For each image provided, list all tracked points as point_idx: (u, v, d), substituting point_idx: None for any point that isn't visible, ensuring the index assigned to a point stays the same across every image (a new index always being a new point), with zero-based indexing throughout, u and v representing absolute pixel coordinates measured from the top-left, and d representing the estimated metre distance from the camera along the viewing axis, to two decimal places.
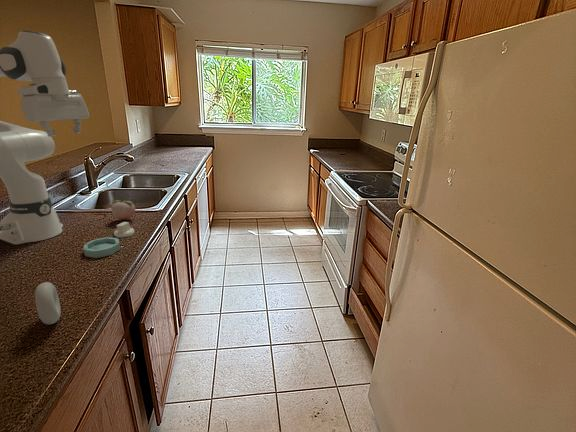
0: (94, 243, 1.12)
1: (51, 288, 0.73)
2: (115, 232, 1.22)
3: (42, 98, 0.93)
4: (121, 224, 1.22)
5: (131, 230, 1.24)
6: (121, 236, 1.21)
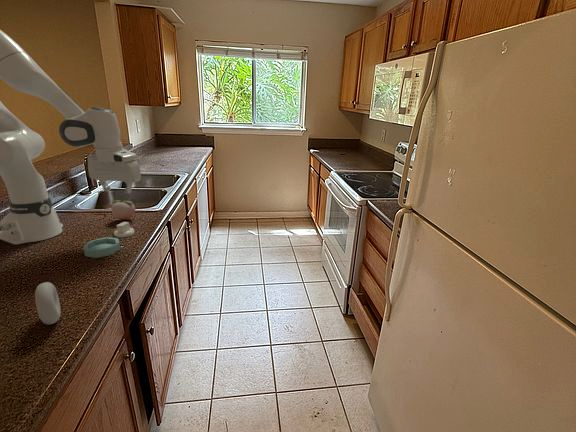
0: (94, 243, 1.12)
1: (51, 288, 0.73)
2: (115, 232, 1.22)
3: None
4: (121, 224, 1.22)
5: (131, 230, 1.24)
6: (121, 236, 1.21)
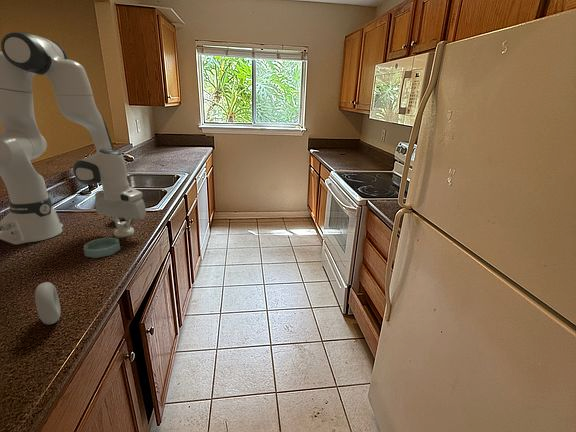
0: (94, 243, 1.12)
1: (51, 288, 0.73)
2: (115, 232, 1.22)
3: None
4: (121, 224, 1.22)
5: (131, 230, 1.24)
6: (121, 236, 1.20)
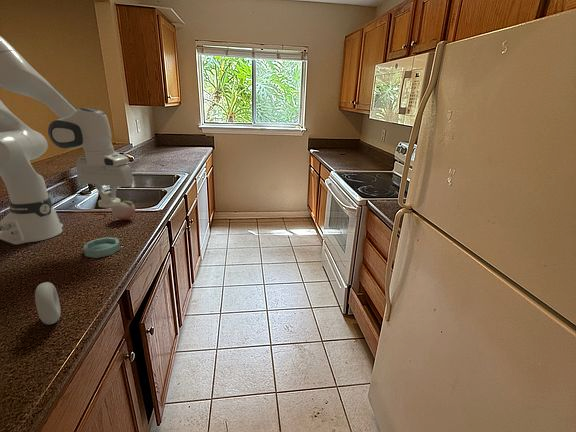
0: (94, 243, 1.12)
1: (51, 288, 0.73)
2: (99, 201, 1.11)
3: None
4: (106, 193, 1.11)
5: (117, 200, 1.14)
6: (106, 205, 1.10)
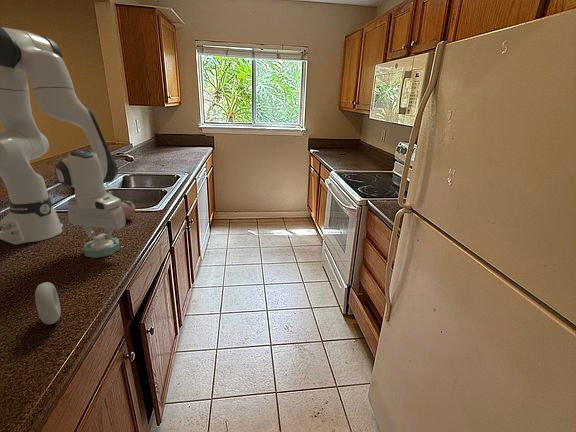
0: None
1: (51, 288, 0.73)
2: (92, 245, 1.08)
3: None
4: (98, 236, 1.08)
5: (110, 243, 1.10)
6: None
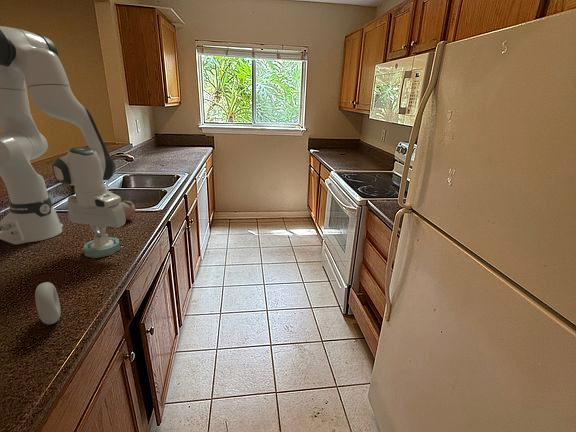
0: None
1: (51, 288, 0.73)
2: (92, 245, 1.08)
3: None
4: (98, 236, 1.08)
5: (110, 243, 1.10)
6: None
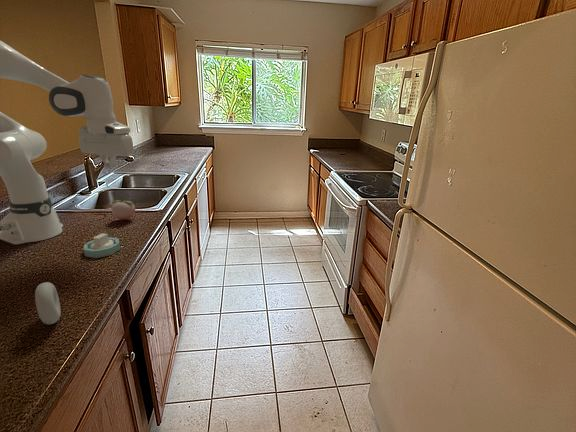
0: None
1: (51, 288, 0.73)
2: (92, 245, 1.08)
3: None
4: (98, 236, 1.08)
5: (110, 243, 1.10)
6: None
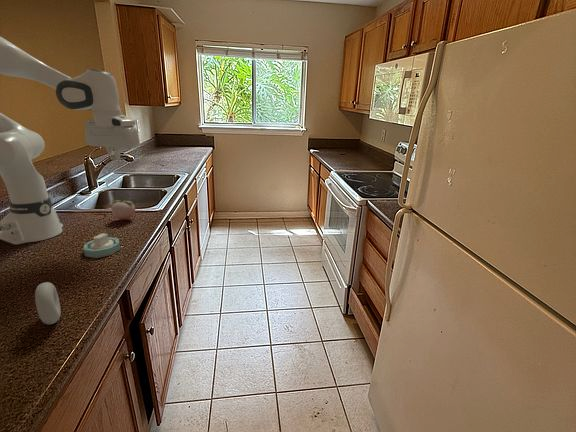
0: None
1: (51, 288, 0.73)
2: (92, 245, 1.08)
3: None
4: (98, 236, 1.08)
5: (110, 243, 1.10)
6: None
